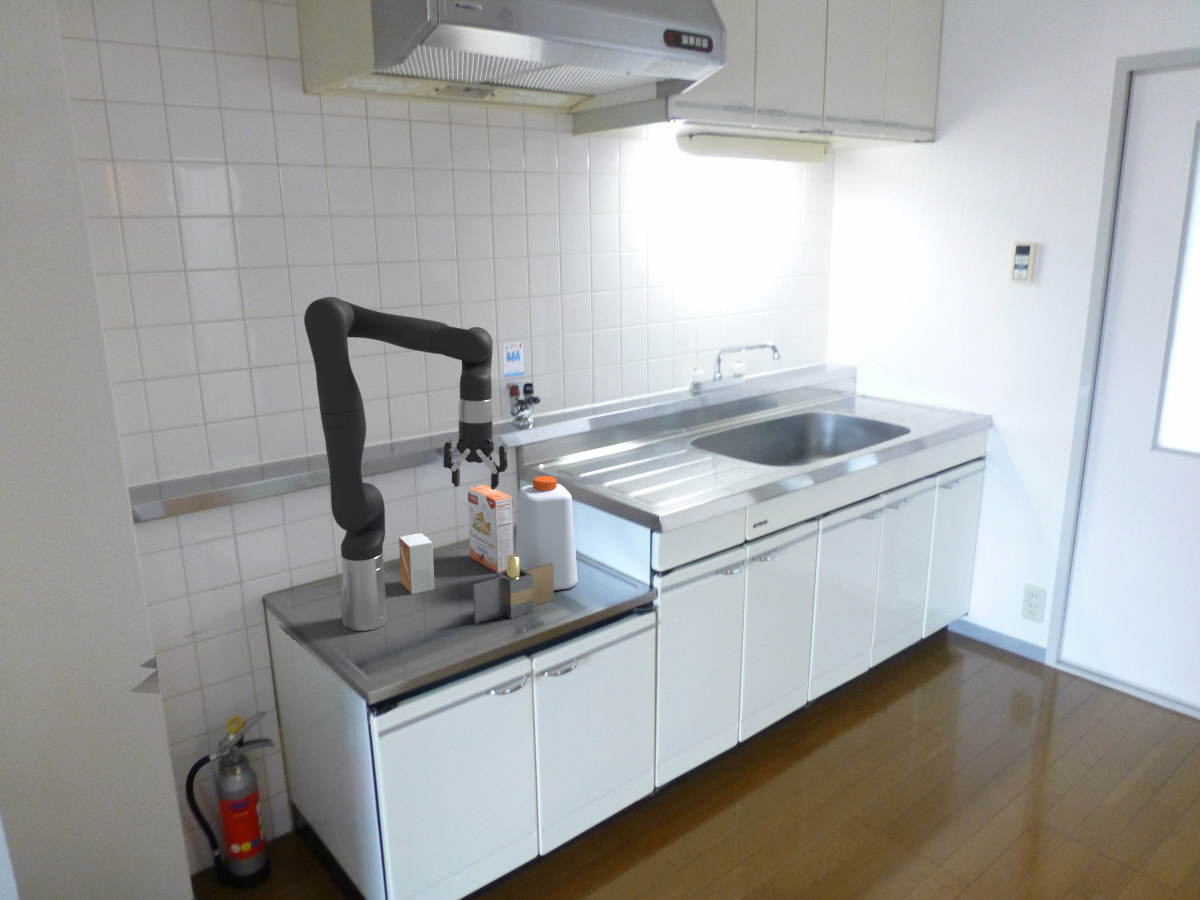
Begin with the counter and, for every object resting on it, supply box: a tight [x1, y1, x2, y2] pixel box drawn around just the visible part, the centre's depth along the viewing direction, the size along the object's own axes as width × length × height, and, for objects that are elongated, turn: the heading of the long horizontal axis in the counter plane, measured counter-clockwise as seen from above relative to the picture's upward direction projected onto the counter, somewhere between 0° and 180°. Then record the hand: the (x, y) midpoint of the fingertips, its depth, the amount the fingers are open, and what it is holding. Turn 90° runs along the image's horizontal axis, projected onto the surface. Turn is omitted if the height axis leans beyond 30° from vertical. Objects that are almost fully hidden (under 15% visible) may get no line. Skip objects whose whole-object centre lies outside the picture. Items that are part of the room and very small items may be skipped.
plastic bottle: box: [514, 475, 579, 591], centre depth 224 cm, size 15×15×28 cm
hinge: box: [472, 563, 555, 625], centre depth 209 cm, size 22×6×10 cm, turn 128°
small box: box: [398, 532, 435, 595], centre depth 222 cm, size 8×6×13 cm
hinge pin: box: [507, 554, 520, 579], centre depth 208 cm, size 3×3×14 cm
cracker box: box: [467, 484, 515, 574], centre depth 237 cm, size 14×6×21 cm, turn 39°
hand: (475, 487), depth 198 cm, fingers open, 8 cm apart
